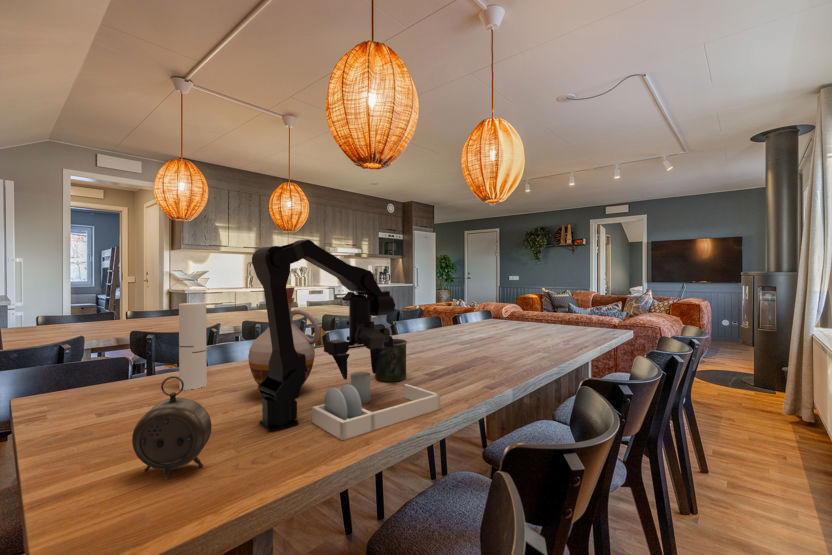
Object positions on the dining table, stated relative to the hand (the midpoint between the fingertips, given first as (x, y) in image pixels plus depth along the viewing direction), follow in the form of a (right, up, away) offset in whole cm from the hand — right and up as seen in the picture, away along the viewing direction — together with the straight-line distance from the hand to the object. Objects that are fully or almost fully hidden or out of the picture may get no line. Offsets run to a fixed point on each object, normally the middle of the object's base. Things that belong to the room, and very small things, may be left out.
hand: (360, 376), depth 104 cm
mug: (+7, -7, +21) cm, 23 cm away
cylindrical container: (-52, -7, +14) cm, 54 cm away
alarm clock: (-26, -7, -38) cm, 47 cm away
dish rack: (+6, -6, -11) cm, 14 cm away
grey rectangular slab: (0, -6, 0) cm, 7 cm away
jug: (-22, -7, +7) cm, 24 cm away
